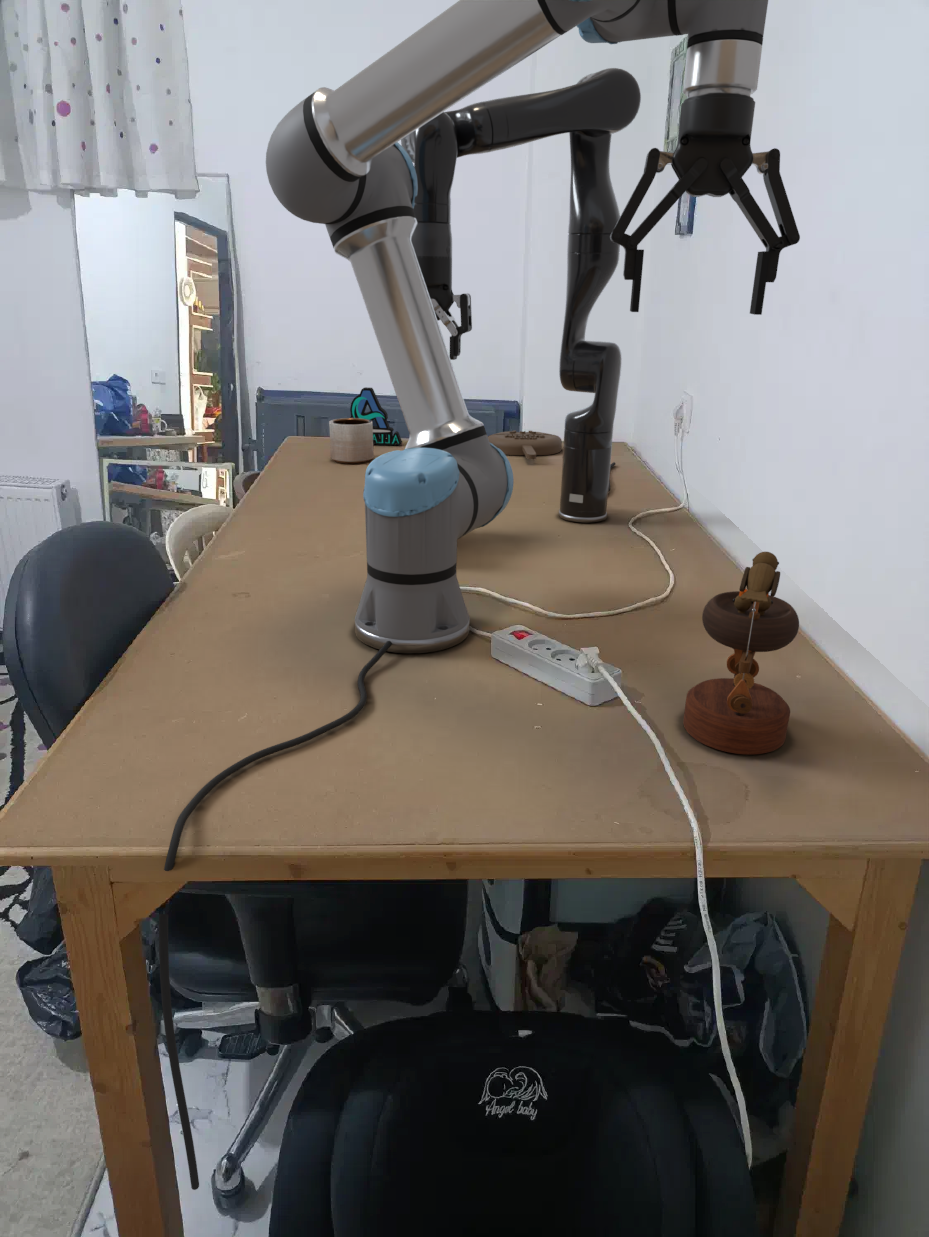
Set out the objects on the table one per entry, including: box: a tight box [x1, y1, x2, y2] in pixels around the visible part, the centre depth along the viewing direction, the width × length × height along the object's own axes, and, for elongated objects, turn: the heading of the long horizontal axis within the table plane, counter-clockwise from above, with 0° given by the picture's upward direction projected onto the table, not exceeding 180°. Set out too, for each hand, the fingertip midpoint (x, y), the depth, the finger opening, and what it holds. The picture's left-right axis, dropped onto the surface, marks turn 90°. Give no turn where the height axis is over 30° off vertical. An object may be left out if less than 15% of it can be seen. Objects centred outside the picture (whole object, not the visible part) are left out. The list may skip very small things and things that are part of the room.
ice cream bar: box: [487, 430, 563, 460], centre depth 224 cm, size 21×28×4 cm
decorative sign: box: [349, 387, 403, 446], centre depth 231 cm, size 19×2×15 cm, turn 86°
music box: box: [682, 551, 800, 755], centre depth 87 cm, size 15×11×20 cm
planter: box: [328, 417, 375, 464], centre depth 212 cm, size 11×11×10 cm
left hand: (694, 313), depth 96 cm, fingers open, 13 cm apart
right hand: (429, 358), depth 143 cm, fingers open, 8 cm apart
